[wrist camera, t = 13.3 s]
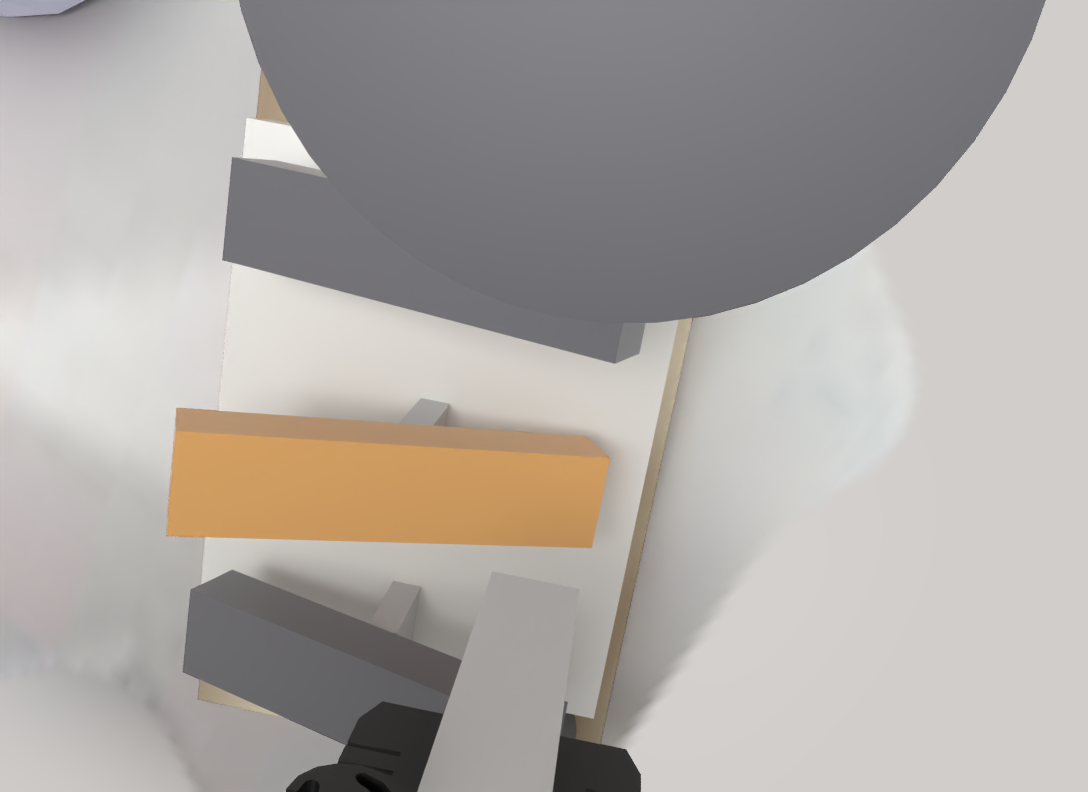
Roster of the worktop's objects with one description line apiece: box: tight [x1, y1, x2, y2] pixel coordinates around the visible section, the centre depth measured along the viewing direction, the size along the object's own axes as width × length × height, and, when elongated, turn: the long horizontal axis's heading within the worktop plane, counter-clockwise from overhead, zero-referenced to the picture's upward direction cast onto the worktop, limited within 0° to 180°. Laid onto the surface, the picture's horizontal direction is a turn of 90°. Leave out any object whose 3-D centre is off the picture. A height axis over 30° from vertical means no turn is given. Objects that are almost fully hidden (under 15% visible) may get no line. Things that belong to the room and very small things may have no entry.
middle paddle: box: [166, 408, 610, 548], centre depth 24 cm, size 10×2×2 cm, turn 81°
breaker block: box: [201, 118, 679, 719], centre depth 28 cm, size 12×15×5 cm
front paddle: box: [222, 157, 646, 364], centre depth 23 cm, size 10×2×2 cm, turn 79°
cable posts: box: [239, 0, 1045, 739], centre depth 18 cm, size 3×22×24 cm, turn 170°
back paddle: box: [183, 570, 568, 745], centre depth 25 cm, size 10×2×2 cm, turn 79°
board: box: [198, 69, 693, 744], centre depth 31 cm, size 13×22×2 cm, turn 170°
